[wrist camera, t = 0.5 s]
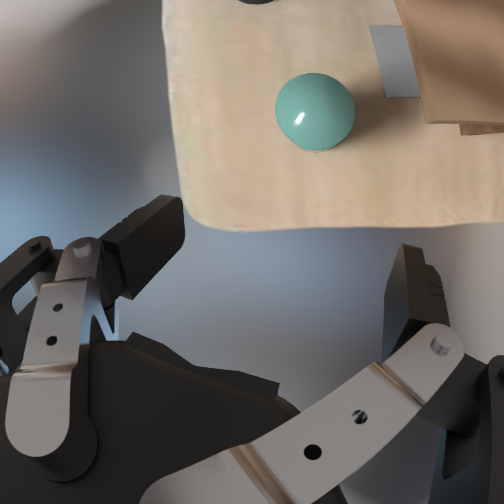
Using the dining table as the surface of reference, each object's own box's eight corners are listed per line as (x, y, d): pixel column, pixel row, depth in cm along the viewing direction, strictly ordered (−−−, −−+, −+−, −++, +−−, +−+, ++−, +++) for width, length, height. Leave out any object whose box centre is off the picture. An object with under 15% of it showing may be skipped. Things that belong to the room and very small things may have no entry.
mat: (368, 27, 27) (369, 26, 26) (437, 29, 25) (438, 28, 24) (385, 97, 29) (386, 97, 29) (454, 97, 27) (456, 97, 27)
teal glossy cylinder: (283, 103, 32) (269, 79, 21) (337, 96, 30) (347, 69, 20) (291, 155, 33) (282, 153, 23) (345, 149, 32) (361, 144, 21)
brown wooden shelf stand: (342, -15, 25) (352, -104, 9) (431, -11, 23) (480, -80, 7) (379, 137, 31) (436, 120, 15) (471, 135, 28) (563, 129, 12)
